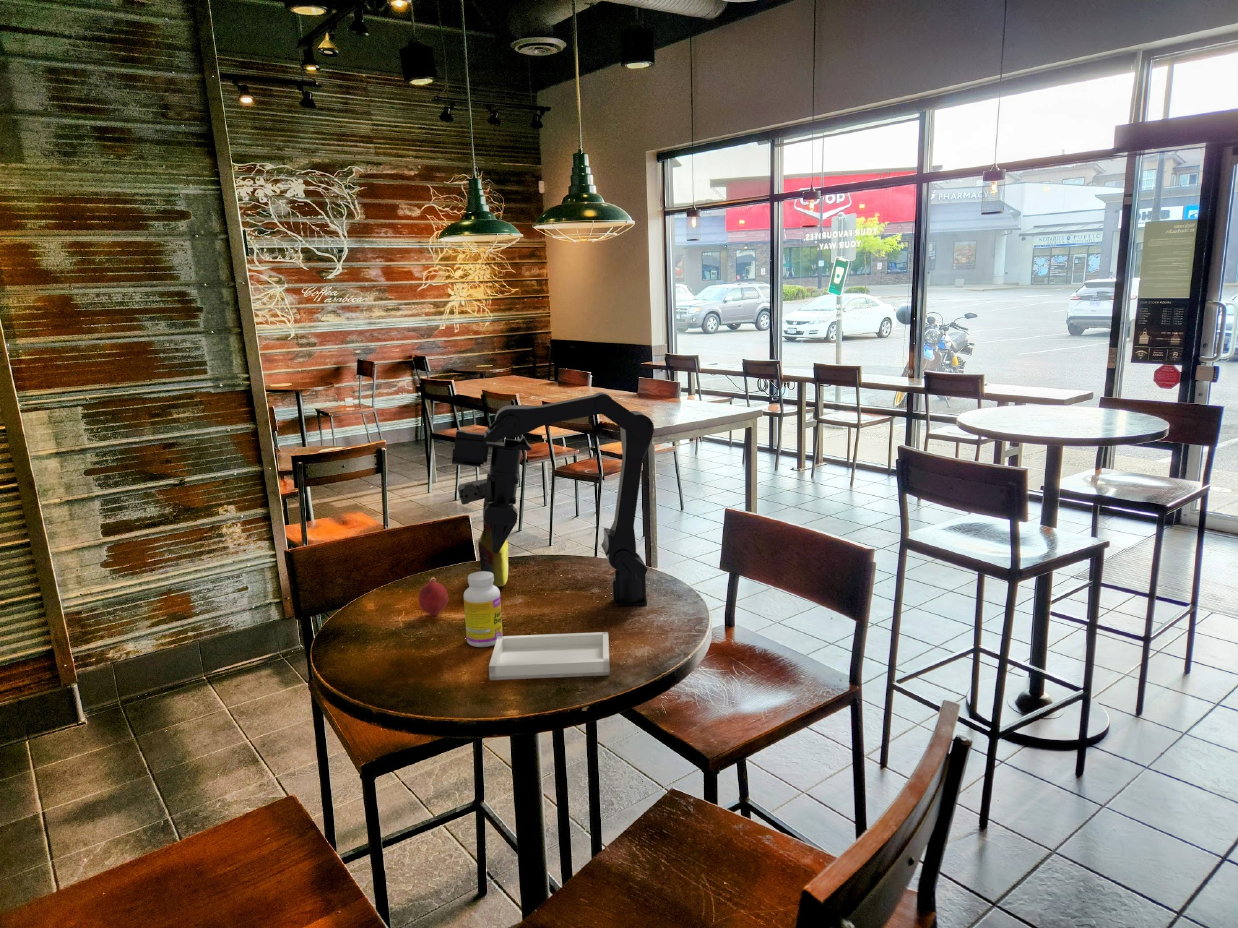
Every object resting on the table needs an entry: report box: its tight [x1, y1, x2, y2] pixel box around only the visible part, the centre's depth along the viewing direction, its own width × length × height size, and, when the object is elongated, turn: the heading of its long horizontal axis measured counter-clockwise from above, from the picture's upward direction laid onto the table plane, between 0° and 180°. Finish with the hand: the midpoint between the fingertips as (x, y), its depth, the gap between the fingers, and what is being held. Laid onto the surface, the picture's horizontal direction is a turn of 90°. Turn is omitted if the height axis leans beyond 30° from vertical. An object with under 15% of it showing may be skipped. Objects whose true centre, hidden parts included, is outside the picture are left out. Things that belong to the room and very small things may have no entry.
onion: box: [418, 577, 449, 617], centre depth 158 cm, size 6×6×8 cm
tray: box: [488, 631, 611, 681], centre depth 137 cm, size 20×12×2 cm, turn 92°
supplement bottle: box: [463, 570, 503, 648], centre depth 145 cm, size 7×7×13 cm
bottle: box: [477, 503, 509, 588], centre depth 176 cm, size 12×6×20 cm, turn 17°
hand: (495, 545), depth 157 cm, fingers open, 9 cm apart
